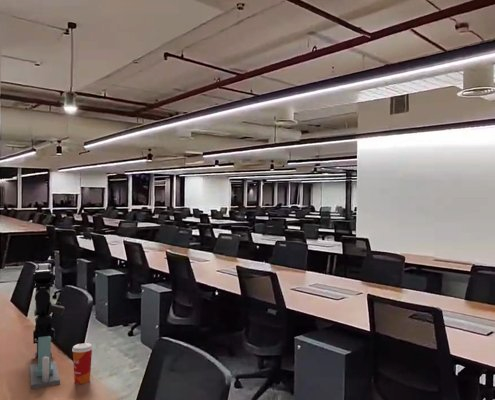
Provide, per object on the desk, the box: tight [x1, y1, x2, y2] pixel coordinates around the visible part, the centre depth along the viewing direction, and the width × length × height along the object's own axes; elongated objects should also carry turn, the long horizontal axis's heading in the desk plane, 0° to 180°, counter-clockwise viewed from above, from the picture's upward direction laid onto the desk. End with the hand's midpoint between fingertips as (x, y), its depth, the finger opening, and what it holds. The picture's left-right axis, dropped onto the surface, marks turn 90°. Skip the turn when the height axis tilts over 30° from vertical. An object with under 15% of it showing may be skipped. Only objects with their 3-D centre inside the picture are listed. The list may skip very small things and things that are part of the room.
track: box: [29, 356, 61, 389], centre depth 179 cm, size 23×10×10 cm, turn 27°
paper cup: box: [71, 342, 93, 385], centre depth 174 cm, size 8×8×14 cm
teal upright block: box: [36, 336, 53, 377], centre depth 176 cm, size 9×6×14 cm, turn 27°
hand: (42, 335), depth 190 cm, fingers closed
